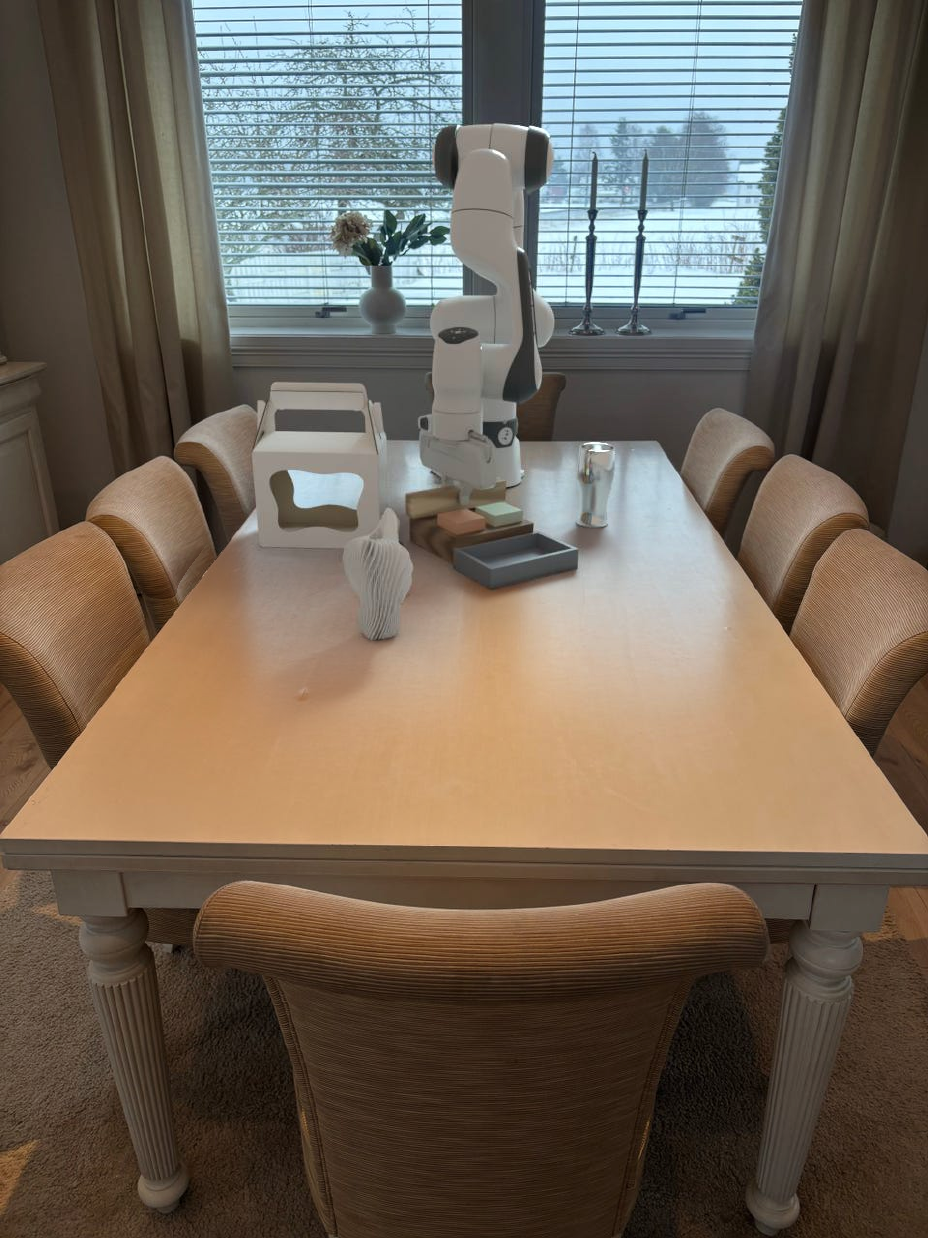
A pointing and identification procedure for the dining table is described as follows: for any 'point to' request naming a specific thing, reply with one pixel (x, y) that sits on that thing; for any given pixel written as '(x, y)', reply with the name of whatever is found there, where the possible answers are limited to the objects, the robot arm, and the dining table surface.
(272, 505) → the gable box
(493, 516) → the sage tile
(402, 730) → the dining table surface
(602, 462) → the beer glass
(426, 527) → the dark wooden square block
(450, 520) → the terracotta tile
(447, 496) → the bar
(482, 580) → the box
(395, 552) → the shell sculpture
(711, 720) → the dining table surface
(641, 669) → the dining table surface
